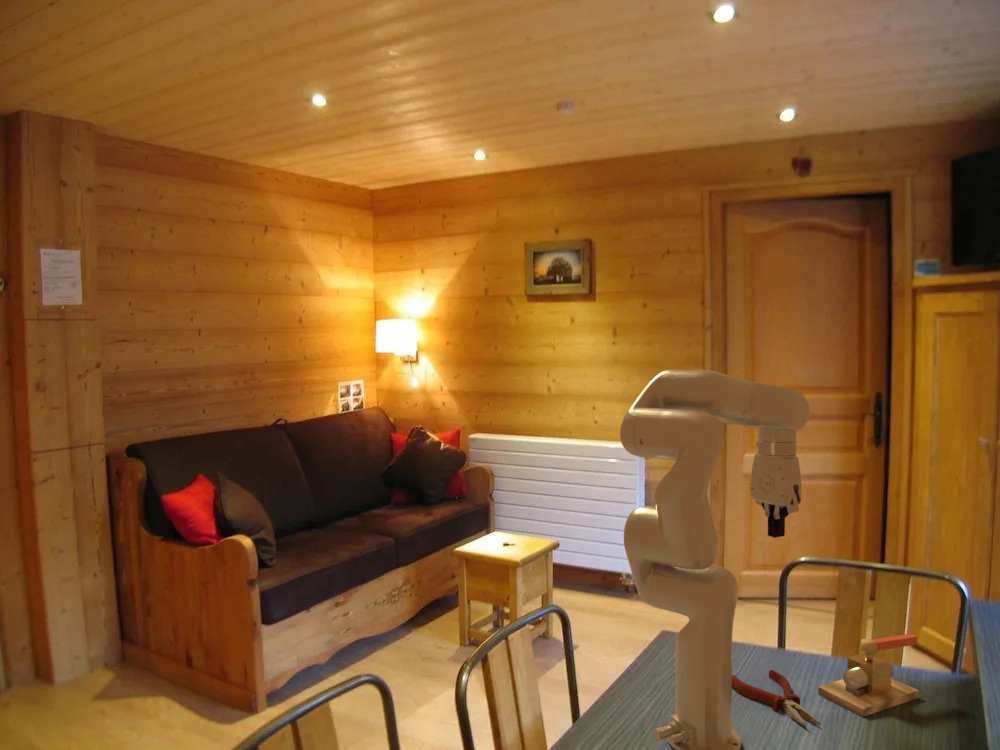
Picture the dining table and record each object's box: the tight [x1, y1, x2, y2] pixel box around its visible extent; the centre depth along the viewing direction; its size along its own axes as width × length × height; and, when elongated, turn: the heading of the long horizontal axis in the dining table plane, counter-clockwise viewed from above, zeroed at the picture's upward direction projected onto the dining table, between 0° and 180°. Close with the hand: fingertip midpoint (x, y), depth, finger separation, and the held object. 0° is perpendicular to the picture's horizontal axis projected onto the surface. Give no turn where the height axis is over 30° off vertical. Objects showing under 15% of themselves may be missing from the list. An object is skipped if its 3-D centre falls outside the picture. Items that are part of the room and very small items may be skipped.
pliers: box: [732, 669, 821, 728], centre depth 143 cm, size 12×20×3 cm, turn 14°
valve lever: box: [860, 633, 918, 655], centre depth 146 cm, size 12×3×2 cm, turn 106°
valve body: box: [842, 652, 895, 697], centre depth 145 cm, size 10×6×7 cm, turn 116°
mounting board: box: [817, 677, 920, 718], centre depth 145 cm, size 16×10×2 cm, turn 116°
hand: (776, 535), depth 155 cm, fingers closed
